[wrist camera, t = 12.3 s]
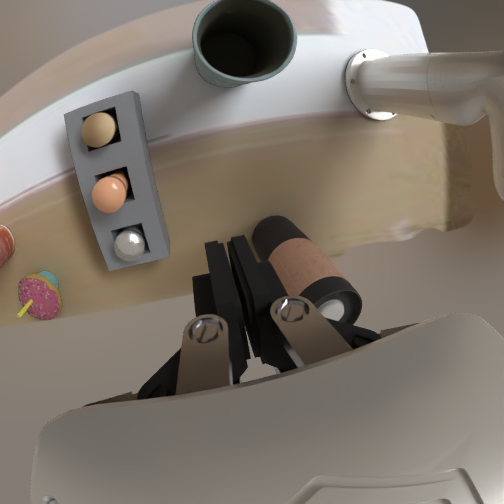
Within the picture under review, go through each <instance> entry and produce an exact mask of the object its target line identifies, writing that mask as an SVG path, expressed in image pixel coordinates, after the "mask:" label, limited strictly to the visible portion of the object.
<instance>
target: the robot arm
mask: <svg viewBox="0 0 504 504" xmlns="http://www.w3.org/2000/svg"><path fill="white" fill-rule="evenodd" d="M345 79H346V87H347V91H348V94H349V97H350V99H351V100H352V102H353V104H354V105H355V107H356V108H357V109H358V110H359V111H360V112H361V113H362V114H364V115H365V116H367V117H369V118H371V119H375V120H389V119H391V118H393V117H394V116H396V115H397V114H402V115H408V116H414V117H420V118H425V119H430V120H435V121H440V122H444V123H449V124H453V125H458V126H466V125H470V124H473V123H475V122H477V121H478V120H479V119H481V118H482V117H483V116H484V115H485V114H486V113H487V114H488V117H489V122H490V129H491V137H492V153H493V178H494V184H495V188H496V190H497V192H498V194H499V196H500V197H501V198H502V199H503V200H504V51H494V52H478V53H418V54H403V55H392V56H388V55H387V54H385V53H383V52H381V51H378V50H373V49H369V50H363V51H360V52H358V53H356V54H355V55H354V56H353V57H352V58H351V59H350V61H349V63H348V65H347V68H346V75H345ZM227 246H228V252H229V258H230V264H231V268H230V265H229V261H228V258H227V255H226V251H225V248H224V245H223V243H219V244H218V241H212V242H207V243H205V249H206V255H207V261H208V267H209V272H210V273H208V274H204V275H199V276H194V277H192V281H193V292H194V303H195V313H196V318H194V319H192V320H191V321H190V322H189V323H188V324H187V325H186V326H185V329H184V332H183V339H182V346H181V348H180V350H179V351H178V352H176V353H175V354H174V356H172V357H171V358H170V359H169V360H168V361H167V363H165V364H164V365H163V366H162V367H161V368H160V369H159V370H158V371H157V372H156V373H155V374H154V375H153V376H152V377H151V378H150V379H149V380H148V381H147V382H146V383H145V384H144V385H143V386H142V387H141V389H140V390H139V392H138V393H136V394H133V393H132V392H128V393H125V394H122V395H118V396H115V397H112V398H108V399H105V400H101V401H98V402H94V403H90V404H87V405H85V406H83V407H81V408H77V409H74V410H70V411H67V412H65V413H63V414H61V415H58V416H56V417H55V418H53V419H51V420H50V421H48V422H47V423H46V424H45V426H44V427H43V428H42V430H41V432H40V435H39V437H38V440H37V444H36V449H35V453H34V459H33V466H32V478H31V504H504V338H503V337H502V336H501V335H500V334H499V333H498V332H497V331H495V329H494V328H492V326H490V325H489V324H488V323H487V322H486V321H484V320H483V319H482V318H480V317H478V316H476V315H473V314H468V313H454V314H447V315H443V316H438V317H435V318H432V319H429V320H426V321H423V322H421V323H416V324H411V325H406V326H401V327H396V328H390V329H385V330H381V331H380V333H379V334H377V333H376V332H374V331H371V330H368V329H365V328H361V327H357V326H354V325H350V324H347V323H343V322H339V321H336V320H332V319H329V318H325V317H324V316H323V315H322V314H321V313H320V311H319V310H318V309H317V308H316V307H315V306H314V305H313V304H312V303H311V302H310V301H309V300H308V299H306V298H304V297H301V296H296V295H291V296H289V295H288V294H287V292H286V290H285V288H284V286H283V284H282V282H281V281H280V279H279V277H278V275H277V273H276V271H275V270H274V268H273V266H272V264H271V262H270V261H265V262H260V263H257V261H256V259H255V257H254V255H253V253H252V251H251V248H250V246H249V244H248V242H247V240H246V238H245V236H244V235H242V236H237V237H232V238H231V241H229V242H227ZM231 270H232V271H231ZM245 327H246V329H245ZM246 331H247V334H248V337H249V340H250V343H251V347H252V350H253V353H254V356H255V358H256V357H260V358H261V361H262V363H263V364H265V363H266V364H269V365H271V366H274V368H275V371H276V374H275V375H272V376H268V377H264V378H260V379H256V380H252V381H248V382H243V383H242V382H241V378H240V377H241V375H242V374H243V373H244V372H245V370H246V369H247V367H248V366H247V361H246V360H247V359H251V357H250V352H249V346H248V341H247V335H246Z"/></svg>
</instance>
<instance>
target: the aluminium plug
mask: <svg viewBox="0 0 504 504" xmlns="http://www.w3.org/2000/svg"><path fill="white" fill-rule="evenodd" d="M144 234H145V233H144V230H143V226H142V223H139V224H135V225H131V226H127V227H124V228H123V231H121V232H120V233H119V234H118V236H117V238H116V240H115V242H114V250H115V253H116V255H117V256H118V257H119V258H120V259H122V260H124V261H128V262H132V261H136V260H138V259H139V258H140V257H141V256H142V254H143V252H144V247H145V241H144Z"/></svg>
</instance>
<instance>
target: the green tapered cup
mask: <svg viewBox="0 0 504 504" xmlns="http://www.w3.org/2000/svg"><path fill="white" fill-rule="evenodd" d="M192 41H193V48H194V52H195V54H194V55H195V64H196V68H197V70H198V72H199V74H200V75H201V76H202V77H203V78H204V79H205V80H206V81H207V82H209V83H211V84H213V85H216V86H219V87H235V86H239V85H242V84H248V83H251V82H257V81H262V80H266V79H268V78H271V77H273V76H275V75H276V74H278V73H280V72H281V71H282V70H283V69H284V68H285V67H286V66H287V65H288V64H289V63H290V61H291V60H292V58H293V56H294V54H295V50H296V45H297V33H296V29H295V26H294V24H293V22H292V20H291V18H290V17H289V15H288V14H287V13H286V12H285V11H284V10H283V9H282V8H281V7H280V6H278V5H277V4H276V3H274V2H272V1H270V0H215V1H213V2H212V3H210V4H209V5H207V6H206V7H205V8H204V9H203V10H202V11H201V13H200V14H199V15H198V17H197V19H196V21H195V23H194V27H193V32H192Z"/></svg>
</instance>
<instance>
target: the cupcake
mask: <svg viewBox="0 0 504 504" xmlns="http://www.w3.org/2000/svg"><path fill="white" fill-rule="evenodd" d="M18 295H19V298H20V299H19V300H20V301H21V304H22V305H23V308H22V310H21V311H20V312H19V313H18V316H17V317H16V318H18V317H19V318H21V317H22V315H23V314H24V313H25V311H26V310H27V311H28V313H29V314H31V315H32V316H33V317H34V318H38V319H41V320H51V319H52V318H54V317H56V316H57V314H58V313H59V312H60V310H61V308H62V300H61V296H60V292H59V289H58V281H57V279H56V278H55V276H54V275H53V274H51V273H50V272H48V271H40V272H39V273H37V274H34V273H31V274H29V275H27V276H25V277H24V278H23V279H21V281H20V283H19V293H18Z"/></svg>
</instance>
